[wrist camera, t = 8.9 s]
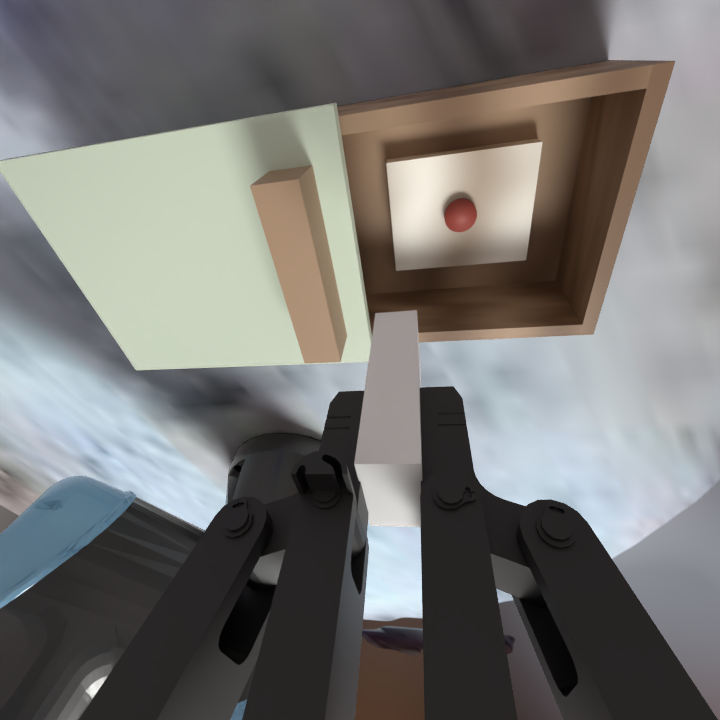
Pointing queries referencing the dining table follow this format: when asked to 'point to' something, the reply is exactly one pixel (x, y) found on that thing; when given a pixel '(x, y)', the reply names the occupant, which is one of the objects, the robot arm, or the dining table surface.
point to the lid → (211, 240)
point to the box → (500, 197)
